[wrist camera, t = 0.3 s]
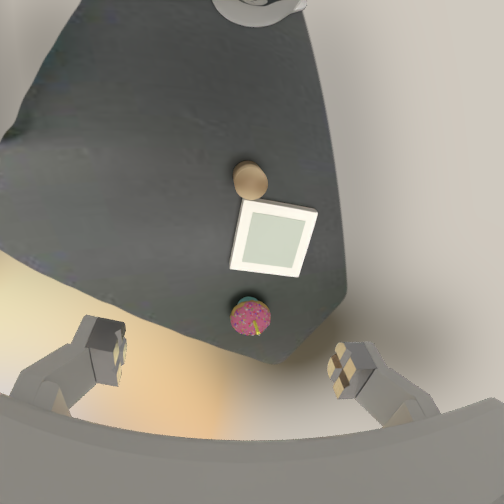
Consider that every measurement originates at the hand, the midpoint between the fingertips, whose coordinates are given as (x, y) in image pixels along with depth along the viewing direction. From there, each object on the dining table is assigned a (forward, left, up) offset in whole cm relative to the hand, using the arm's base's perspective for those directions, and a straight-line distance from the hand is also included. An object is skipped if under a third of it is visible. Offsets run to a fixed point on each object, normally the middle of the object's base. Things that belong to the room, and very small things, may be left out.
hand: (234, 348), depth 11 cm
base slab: (+14, +13, -46) cm, 49 cm away
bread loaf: (+3, +6, -46) cm, 46 cm away
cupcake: (+31, +12, -46) cm, 57 cm away
